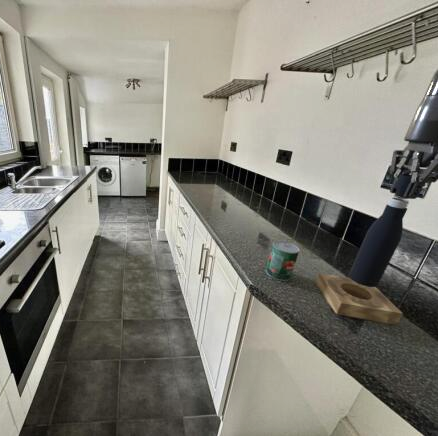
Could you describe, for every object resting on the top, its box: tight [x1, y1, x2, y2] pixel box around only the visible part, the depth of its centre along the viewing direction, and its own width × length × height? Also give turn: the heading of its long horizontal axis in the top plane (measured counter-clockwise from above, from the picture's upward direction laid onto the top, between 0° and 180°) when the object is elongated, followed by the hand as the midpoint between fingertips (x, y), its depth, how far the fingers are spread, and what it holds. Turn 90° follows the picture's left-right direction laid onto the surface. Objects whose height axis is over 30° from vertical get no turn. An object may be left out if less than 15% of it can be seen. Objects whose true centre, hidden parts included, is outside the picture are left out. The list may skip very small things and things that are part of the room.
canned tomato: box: [265, 240, 301, 282], centre depth 79 cm, size 8×8×11 cm
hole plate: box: [315, 273, 404, 326], centre depth 68 cm, size 14×14×4 cm
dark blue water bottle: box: [347, 174, 421, 288], centre depth 60 cm, size 6×6×30 cm
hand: (402, 195), depth 56 cm, fingers closed on dark blue water bottle, 4 cm apart
